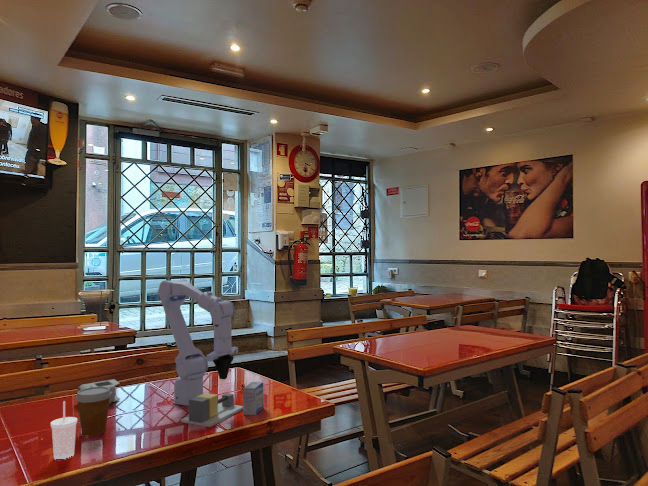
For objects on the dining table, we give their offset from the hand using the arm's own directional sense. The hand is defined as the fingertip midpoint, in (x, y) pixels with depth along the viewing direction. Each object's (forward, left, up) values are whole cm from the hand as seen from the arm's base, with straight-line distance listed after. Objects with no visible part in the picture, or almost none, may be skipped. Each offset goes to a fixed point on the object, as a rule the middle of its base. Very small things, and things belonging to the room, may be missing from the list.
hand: (223, 378), depth 156 cm
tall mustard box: (0, -8, -9) cm, 13 cm away
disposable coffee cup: (-24, -30, -11) cm, 40 cm away
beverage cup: (-17, -45, -11) cm, 49 cm away
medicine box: (+10, +3, -11) cm, 15 cm away
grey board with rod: (0, -5, -10) cm, 12 cm away
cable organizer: (-46, -9, -11) cm, 48 cm away
